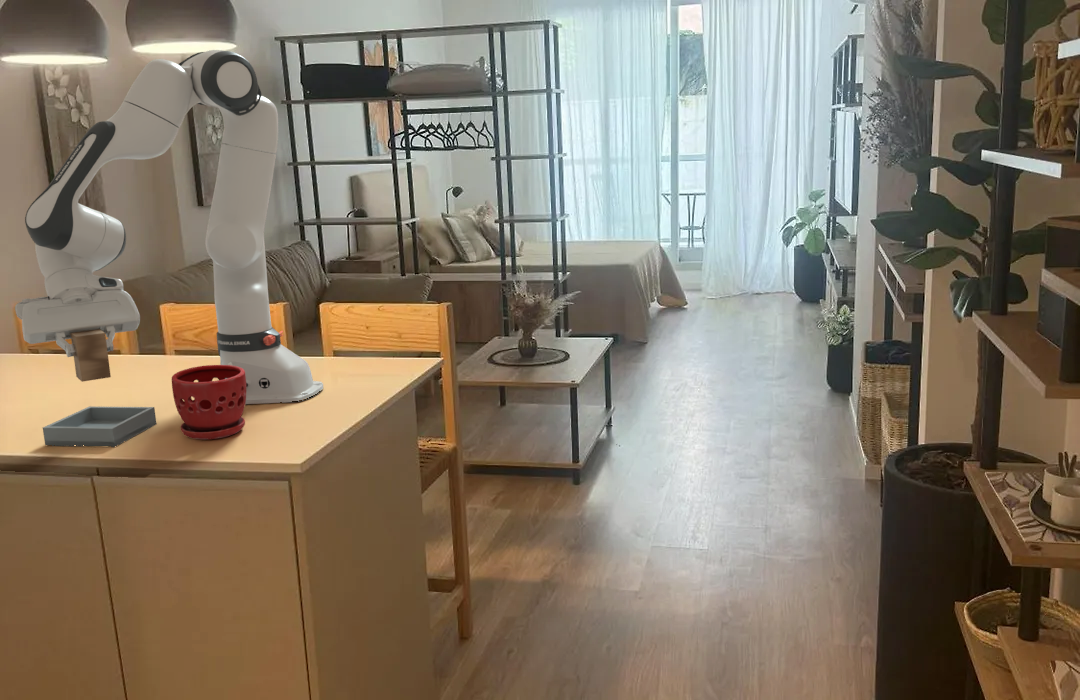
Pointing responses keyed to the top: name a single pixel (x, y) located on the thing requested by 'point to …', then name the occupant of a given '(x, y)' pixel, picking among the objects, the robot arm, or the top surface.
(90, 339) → the walnut block
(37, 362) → the top surface
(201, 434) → the plant pot
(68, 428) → the tray
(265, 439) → the top surface
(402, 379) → the top surface
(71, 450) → the top surface
